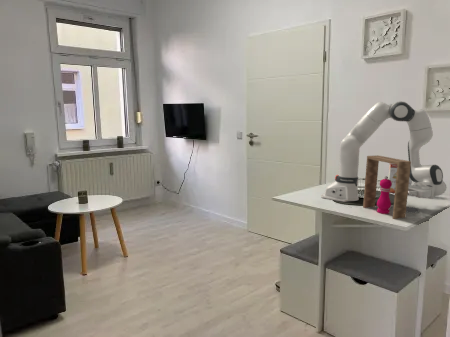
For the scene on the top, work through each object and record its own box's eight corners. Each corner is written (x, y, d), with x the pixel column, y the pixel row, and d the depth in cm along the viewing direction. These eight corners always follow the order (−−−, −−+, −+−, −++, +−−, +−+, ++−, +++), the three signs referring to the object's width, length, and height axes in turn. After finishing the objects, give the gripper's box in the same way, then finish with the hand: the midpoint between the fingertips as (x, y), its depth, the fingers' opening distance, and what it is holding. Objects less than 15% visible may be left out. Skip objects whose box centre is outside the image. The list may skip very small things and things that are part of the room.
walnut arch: (393, 219, 189) (399, 162, 184) (363, 207, 211) (367, 155, 206) (405, 217, 192) (410, 161, 187) (373, 206, 213) (377, 155, 208)
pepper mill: (385, 215, 196) (389, 178, 193) (373, 211, 202) (376, 175, 199) (393, 212, 200) (396, 176, 197) (380, 209, 206) (383, 174, 203)
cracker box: (387, 192, 248) (390, 161, 244) (386, 190, 253) (389, 160, 250) (410, 194, 244) (414, 163, 240) (409, 192, 249) (412, 161, 246)
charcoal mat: (395, 210, 205) (396, 209, 205) (397, 206, 214) (397, 205, 214) (418, 213, 200) (418, 212, 199) (418, 208, 209) (418, 207, 209)
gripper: (406, 180, 217) (387, 181, 212) (436, 187, 198) (417, 189, 193) (405, 191, 218) (386, 192, 213) (435, 199, 199) (415, 201, 195)
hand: (401, 191), depth 203 cm, fingers open, 8 cm apart
